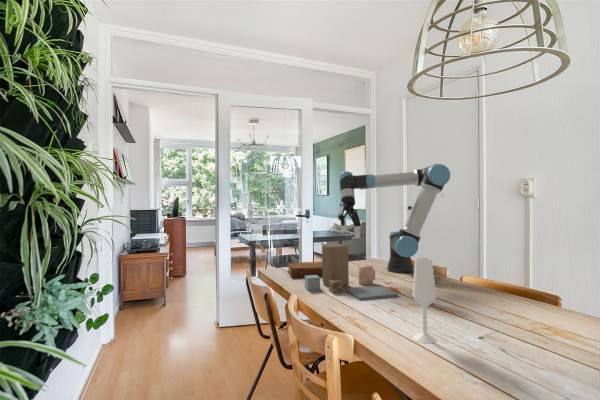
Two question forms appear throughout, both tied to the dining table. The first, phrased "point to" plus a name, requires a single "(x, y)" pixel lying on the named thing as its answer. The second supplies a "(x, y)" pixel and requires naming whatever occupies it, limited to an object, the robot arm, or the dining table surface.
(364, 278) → the peach rounded cylinder
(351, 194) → the robot arm
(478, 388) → the dining table surface
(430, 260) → the champagne flute
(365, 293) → the slate grey board
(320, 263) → the diary
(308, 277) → the blue grey box
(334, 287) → the walnut cube
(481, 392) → the dining table surface
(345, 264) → the wooden block
